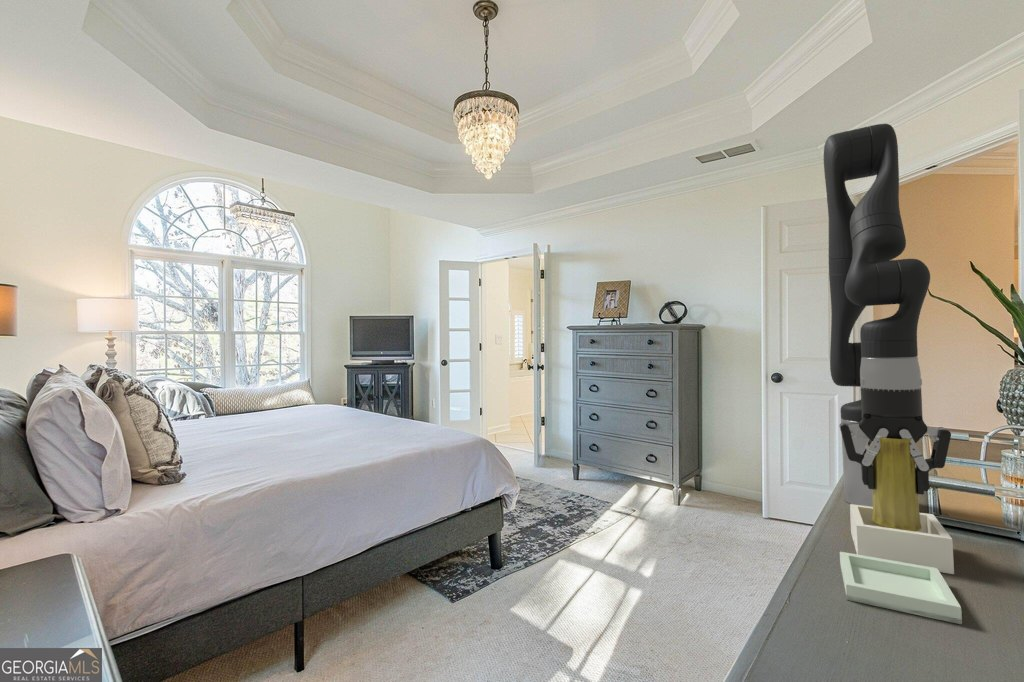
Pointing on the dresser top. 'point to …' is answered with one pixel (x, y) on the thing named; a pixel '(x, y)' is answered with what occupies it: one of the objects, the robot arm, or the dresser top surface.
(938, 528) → the sleeve
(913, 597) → the tray
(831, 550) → the dresser top surface
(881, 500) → the vase
